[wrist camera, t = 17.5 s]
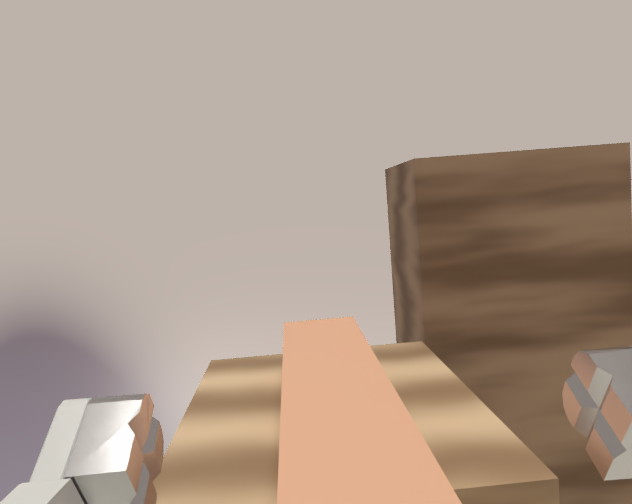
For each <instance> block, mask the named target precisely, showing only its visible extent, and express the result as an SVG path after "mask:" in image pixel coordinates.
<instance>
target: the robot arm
mask: <svg viewBox="0 0 632 504" xmlns="http://www.w3.org/2000/svg"><path fill="white" fill-rule="evenodd" d="M571 366H572V368H573V369H574V371H575V373H574V374H573V375H572V376H571V377H569V378H568V379H567V380H566V381H565V384H564V388H563V392H562V397H563V407H564V410H565V412H566V415H567V418H568V420H569V422H570V423H571V425H572V427H573V429H575V430H576V431H578V432H579V433H580V434H582V435H583V436H585V437H586V438H587V442H586V448H585V450H586V451H587V453H588V455H589V456H590V458H591V460H592V462H593V463H594V465H595V467H596V468H597V470H598V472H599V473H600V475H601V477H602V479H603V480H604V481H605V480H618V479H630V478H632V346H621V347H612V348H603V349H593V350H584V351H579V352H578V353H577V354H576V355H574V358H573V360H572V363H571ZM153 408H154V405H153V402H152V400H151V397H150V394H136V395H122V396H107V397H95V398H94V397H93V398H84V399H72V400H64V401H63V402H62V403H61V405H60V406H59V407H58V409H57V411H56V414H55V416H54V419H53V421H52V424H51V427H50V429H49V432H48V434H47V437H46V439H45V442H44V445H43V447H42V450H41V452H40V455H39V458H38V460H37V463H36V465H35V468H34V471H33V473H32V476H31V478H30V481H29V482H27V483H20V484H19V485H18V486H17V487H16V488H15V489H14V490H13V491H12V492H11V493H10V494H9V495H8V496H7V497H5V498H4V499H3V500H2V501H1V502H0V504H156V500H157V492H156V489H155V487H154V484H153V481H154V479H155V478H156V477H157V476H158V475H159V474H160V472H161V469H162V462H163V434H162V429H161V426H160V422H159V421H158V420H156V419H155V418H153V417H152V413H153Z"/></svg>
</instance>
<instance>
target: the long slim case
mask: <svg viewBox="0 0 632 504" xmlns="http://www.w3.org/2000/svg"><path fill="white" fill-rule="evenodd" d="M283 338H284V339H283V362H282V388H281V414H280V439H279V465H278V490H277V504H462V503H461V501H460V500H459V498H458V496H457V495H456V493H455V491H454V489H453V488H452V486H451V484H450V483H449V481H448V479H447V477H446V476H445V474H444V472H443V471H442V469H441V467H440V465H439V464H438V462H437V460H436V459H435V457H434V455H433V453H432V452H431V450H430V448H429V446H428V445H427V443H426V441H425V440H424V438H423V436H422V434H421V433H420V431H419V429H418V428H417V426H416V424H415V422H414V421H413V419H412V417H411V416H410V414H409V412H408V410H407V409H406V407H405V405H404V404H403V402H402V400H401V398H400V397H399V395H398V393H397V392H396V390H395V388H394V386H393V385H392V383H391V381H390V380H389V378H388V376H387V374H386V373H385V371H384V369H383V367H382V366H381V364H380V362H379V361H378V359H377V357H376V355H375V354H374V352H373V350H372V349H371V347H370V345H369V344H368V342H367V340H366V338H365V337H364V335H363V333H362V331H361V330H360V328H359V326H358V325H357V323H356V321H355V319H354V318H353V317H342V318H331V319H320V320H308V321H297V322H286V323H284V337H283Z"/></svg>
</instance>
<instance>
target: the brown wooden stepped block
mask: <svg viewBox="0 0 632 504" xmlns="http://www.w3.org/2000/svg"><path fill="white" fill-rule="evenodd" d="M385 173H386V188H387V204H388V219H389V233H390V249H391V264H392V279H393V295H394V308H395V325H396V340H397V344H386V345H375V346H370V347H371V349H372V350H373V352H374V354H375V355H376V357H377V359H378V361H379V362H380V364H381V366H382V367H383V369H384V371H385V373H386V374H387V376H388V378H389V380H390V381H391V383H392V385H393V386H394V388H395V390H396V392H397V393H398V395H399V397H400V398H401V400H402V402H403V404H404V405H405V407H406V409H407V410H408V412H409V414H410V416H411V417H412V419H413V421H414V422H415V424H416V426H417V428H418V429H419V431H420V433H421V434H422V436H423V438H424V440H425V441H426V443H427V445H428V446H429V448H430V450H431V452H432V453H433V455H434V457H435V459H436V460H437V462H438V464H439V465H440V467H441V469H442V471H443V472H444V474H445V476H446V477H447V479H448V481H449V483H450V484H451V486H452V488H453V489H454V491H455V493H456V495H457V496H458V498H459V500H460V501H461V503H462V504H632V478H630V479H618V480H605V481H604V480H603V479H602V477H601V475H600V473H599V472H598V470H597V468H596V467H595V465H594V463H593V462H592V460H591V458H590V456H589V455H588V453H587V451H586V450H585V448H586V442H587V438H586V437H585V436H583V435H582V434H580V433H579V432H578V431H576V430H575V429H573V427H572V425H571V423H570V422H569V420H568V418H567V415H566V412H565V410H564V407H563V397H562V392H563V388H564V384H565V381H566V380H567V379H568V378H569V377H571V376H572V375H573V374H574V373H575V371H574V369H573V368H572V366H571V363H572V360H573V358H574V355H576V354H577V353H578V352H579V351H584V350H593V349H603V348H612V347H621V346H632V215H631V175H630V143H617V144H603V145H589V146H576V147H565V148H564V147H563V148H550V149H536V150H523V151H510V152H497V153H483V154H470V155H457V156H444V157H431V158H418V159H412V160H410V161H407V162H404V163H402V164H399V165H396V166H394V167H391V168H388V169H386V170H385ZM282 362H283V354H277V355H266V356H255V357H244V358H233V359H223V360H212V361H211V362H210V364H209V366H208V368H207V370H206V372H205V374H204V376H203V378H202V380H201V382H200V384H199V387H198V388H197V390H196V393H195V395H194V397H193V399H192V401H191V403H190V405H189V407H188V409H187V411H186V413H185V415H184V417H183V419H182V421H181V423H180V425H179V427H178V429H177V431H176V433H175V435H174V437H173V439H172V441H171V443H170V445H169V447H168V450H167V451H166V453H165V455H164V457H163V462H162V469H161V472H160V474H159V475H158V476H157V477H156V478H155V479H154V481H153V484H154V487H155V489H156V492H157V500H156V504H277V490H278V465H279V439H280V414H281V388H282Z"/></svg>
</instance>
